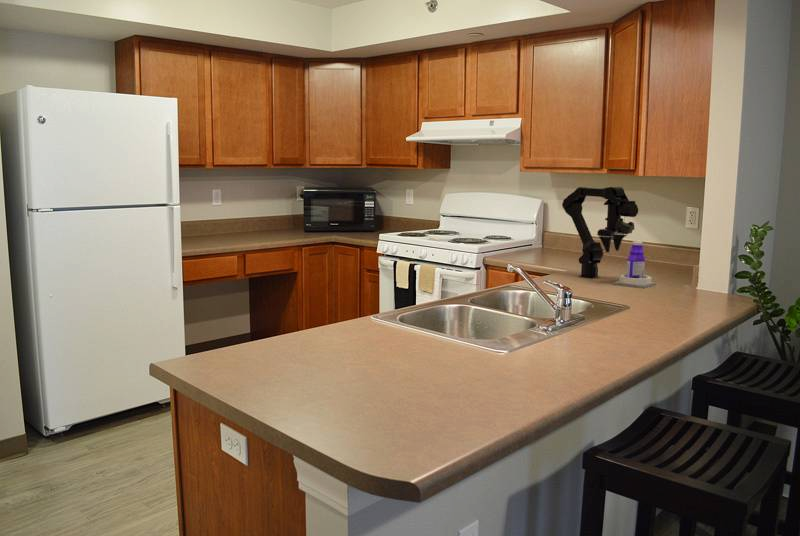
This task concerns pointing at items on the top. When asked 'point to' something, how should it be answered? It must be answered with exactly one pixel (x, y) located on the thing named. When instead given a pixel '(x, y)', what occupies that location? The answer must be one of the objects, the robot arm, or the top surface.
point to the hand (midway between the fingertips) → (612, 251)
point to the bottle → (636, 261)
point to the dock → (635, 281)
